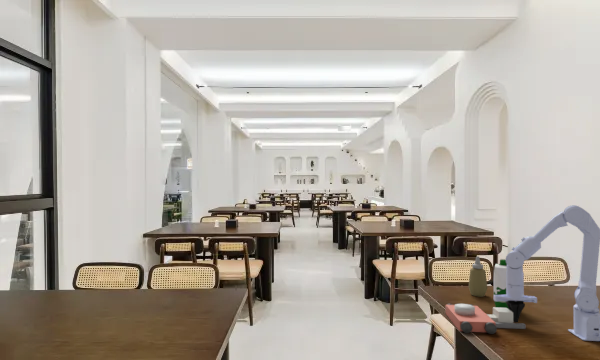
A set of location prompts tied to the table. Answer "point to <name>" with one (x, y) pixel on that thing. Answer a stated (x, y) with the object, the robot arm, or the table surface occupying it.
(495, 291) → the milk carton
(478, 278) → the squeeze bottle
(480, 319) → the forklift
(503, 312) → the white block
